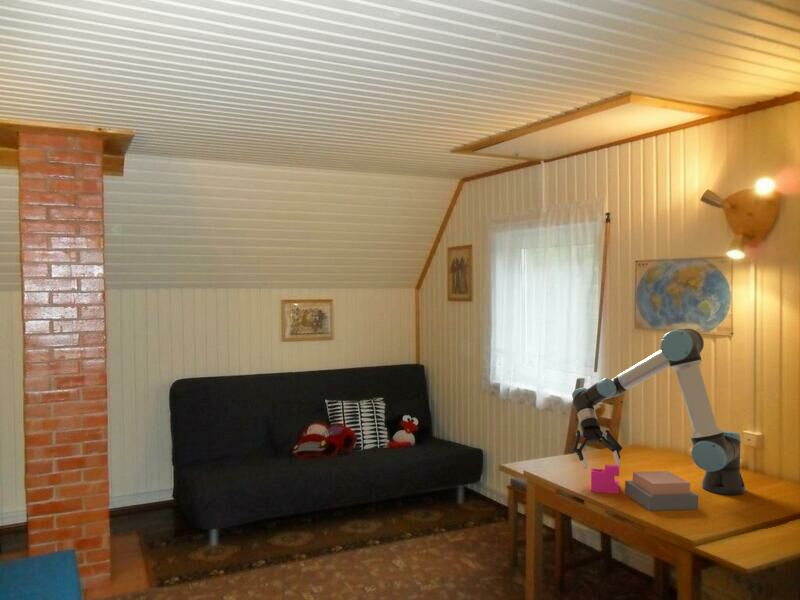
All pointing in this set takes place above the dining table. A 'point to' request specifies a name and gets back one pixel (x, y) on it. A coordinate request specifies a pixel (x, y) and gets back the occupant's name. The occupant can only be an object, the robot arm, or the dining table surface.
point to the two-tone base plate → (661, 491)
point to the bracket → (605, 479)
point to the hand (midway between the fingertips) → (602, 467)
